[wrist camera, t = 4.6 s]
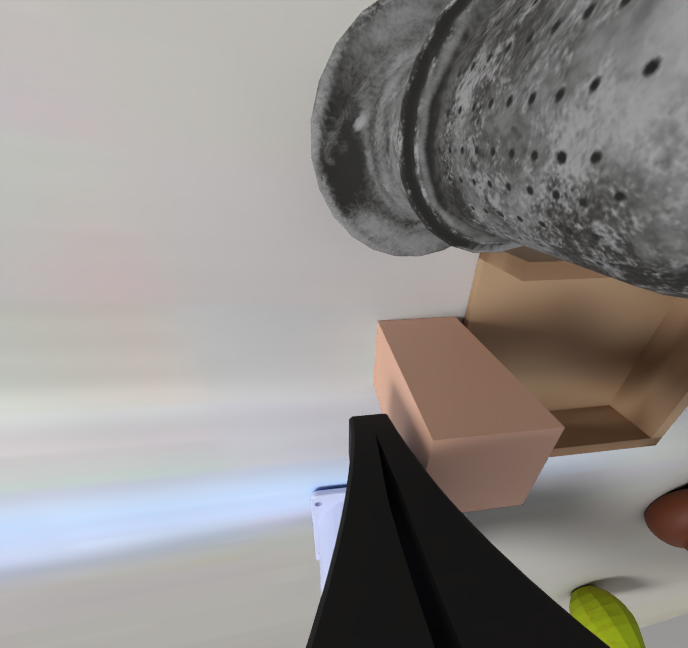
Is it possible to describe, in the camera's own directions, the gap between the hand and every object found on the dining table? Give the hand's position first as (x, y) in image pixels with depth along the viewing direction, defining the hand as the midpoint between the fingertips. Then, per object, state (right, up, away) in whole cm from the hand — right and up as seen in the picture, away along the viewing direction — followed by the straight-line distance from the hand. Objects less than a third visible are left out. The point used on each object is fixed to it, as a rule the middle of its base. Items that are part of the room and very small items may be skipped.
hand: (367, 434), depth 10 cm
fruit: (+30, -31, +27) cm, 51 cm away
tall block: (+3, +3, +5) cm, 6 cm away
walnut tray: (+11, +3, +6) cm, 13 cm away
